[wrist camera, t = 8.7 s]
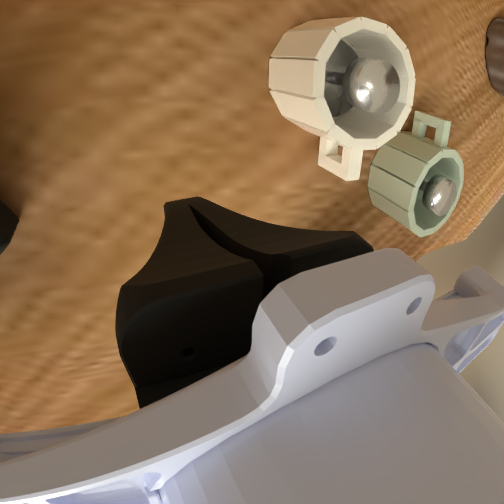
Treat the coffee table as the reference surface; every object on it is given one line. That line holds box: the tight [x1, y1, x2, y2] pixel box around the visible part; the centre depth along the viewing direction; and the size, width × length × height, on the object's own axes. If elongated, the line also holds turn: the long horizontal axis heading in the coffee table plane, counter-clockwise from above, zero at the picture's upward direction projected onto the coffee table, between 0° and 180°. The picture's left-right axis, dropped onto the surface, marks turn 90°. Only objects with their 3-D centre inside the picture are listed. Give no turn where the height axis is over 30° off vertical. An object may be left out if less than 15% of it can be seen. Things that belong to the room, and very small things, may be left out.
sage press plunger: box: [418, 174, 457, 216], centre depth 28 cm, size 6×6×6 cm
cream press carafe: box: [269, 17, 416, 181], centre depth 20 cm, size 12×9×6 cm
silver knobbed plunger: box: [324, 40, 400, 117], centre depth 19 cm, size 6×6×6 cm
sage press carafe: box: [367, 110, 464, 237], centre depth 27 cm, size 12×9×6 cm
